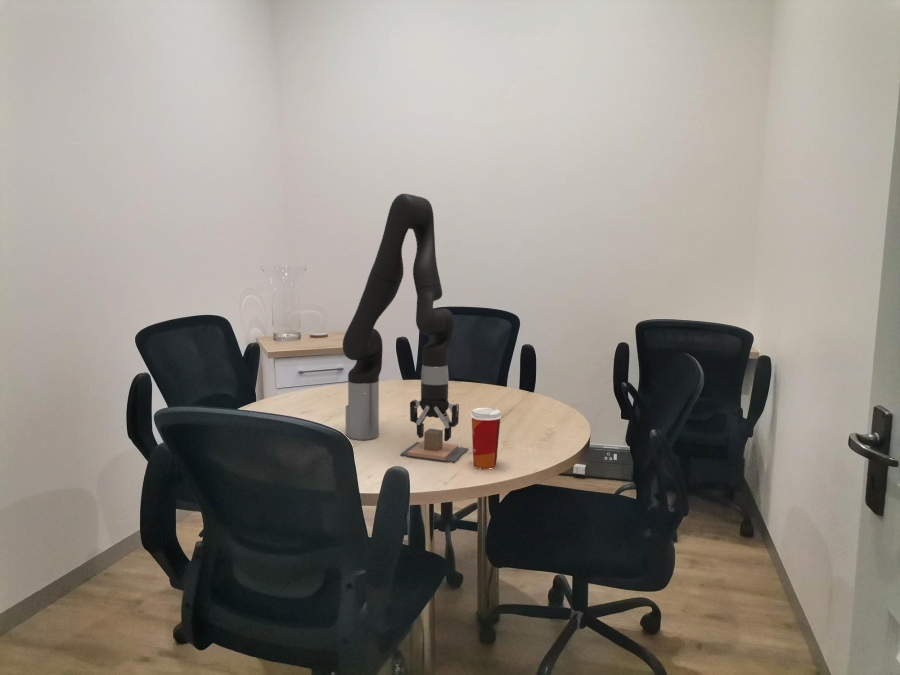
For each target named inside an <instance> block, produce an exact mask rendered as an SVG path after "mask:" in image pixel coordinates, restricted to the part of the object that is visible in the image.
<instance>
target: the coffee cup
mask: <svg viewBox="0 0 900 675" xmlns="http://www.w3.org/2000/svg"><path fill="white" fill-rule="evenodd" d="M469 417H471V436H472V437H471V438H472V459H473V460H472V461H473V462H472V463H473V467H474V466H475V467H477V468H476V469H478V468H481V469H480V470H483V469H489V468H493V469H495V468H496V467H495V466H497V460H498V459H497V458H498V449H499V448H498V447H499V438H500V427H501V426H500V425H501V418H502V415H501V411H500V410H499V409H496V408H493V407H492V408H490V407H478V408H477V407H476V408H474V409H473V410H471V414H470V416H469ZM475 467H474V468H475ZM494 467H495V468H494ZM489 470H490V469H489Z"/></svg>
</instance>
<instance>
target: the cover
mask: <svg viewBox="0 0 900 675" xmlns="http://www.w3.org/2000/svg"><path fill="white" fill-rule="evenodd" d="M443 430H444V429H435V428H428V429H426V431H424V436H423V438H424V439H423V440H422V441H419V442H420V443H419V444H418V445H416V446H415V447H414V448H412V449H411V450H409V451H408V456H416V457H423V458H431V459H438V460H446V459H447V458H448V457H449V456H451V455H452V454H453V453H454V452H455V451H456V450H457V449H458V447H459V445H458V444H451V443H444V442H443V440H444V439H443V438H444V437H443V436H444V434H443V433H444V431H443Z"/></svg>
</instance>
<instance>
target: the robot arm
mask: <svg viewBox="0 0 900 675" xmlns="http://www.w3.org/2000/svg"><path fill="white" fill-rule="evenodd" d="M434 219H435V216H434V209H433V206H432V204H431V202H430V201H429V200H428V199H427V198H425V197H422V196H419V195H418V196H417V195H415V194H410V193H400V194H398V195H396V197H395V198H394V200H393V201H392V203H391V205H390V206H389V211H388V215H387V218H386V223H385V226H384V230H383V234H382V239H381V241H380V244H379V247H378V251H377V254H376V257H375V260H374V262H373V264H372V267H371V270H370V272H369V275H368V277H367V281H366V284H365V287H364V290H363V293H362V295H361V298H360V300H359V303H358V306H357V308H356V311H355V313H354V315H353V317H352V319H351V321H350V323H349V325H348V328H347V329H346V331H345V334H344V336H343V340H342V351H343V354H344V356H345V357H346V358H348V360H352V361H356V362H355V364H354V366H353V367H352V368H351V369H350V370H349V372H348V373H347V374H348V376H347V380H348V382H347V390H348V391H347V393H348V394H347V395H348V396H347V398H348V399H347V401H348V402H347V405H346V406H345V436H346V435H347V436H348V438H350V439H352V440H357V441H367V440H368V441H369V440H374V439H377V438H378V437H379V435H380V432H379V431H380V428H379V426H380V424H379V423H380V422H379V421H380V412H379V411H380V410H379V409H380V407H379V406H380V402H379V400H380V398H379V397H380V391H379V390H380V389H379V387H380V386H379V384H380V374H381V372H382V367H383V338H382V336H381V334H380V332H379V331H378V330H377V329H376V328H374V327H375V325H376V323H377V322H378V320H379V318H380V317H381V316H382V315H383V313H384V312H385V311H386V310H387V308H389V306H390V305H391V304H392V302H393V301H394V300H395V297H396V295H397V294H398V292H399V289H400V286H401V284H402V280H403V277H404V260H403V252H402V250H403V246H404V241H405V238H406V236H407V233H408V231H409V230H413V233H414V234H413V235H414V237H415V242H416V252H415V258H414V261H413V262H414V263H413V265H412V277H413V282H414V286H415V287H414V288H415V292H416V309H415V310H416V312H415V313H416V314H415V323H416V324H415V325H416V327H417V329H418V331H419V332H420V333H421V335H423V336H433V338H432V340H431V341H429V342H427V343H425V344H424V345H423V347H422V352H421V353H422V358H421V359H422V360H421V364H422V365H421V372H420V379H421V380H420V400H417V399H413V400H411V401H409V418H410V420H409V421H410V422H411V423H414V424H415V425H416V435H417V436H418V438H419V439H422V438H424V432H425V431H424V430H425V427H424V426H425V423H424V422H425V420H426V419H427V418H436V419H439V420H440V421H441V422H442V424H443V425H444V429H443V430H444V431H443V433H444V434H443V436H444V437H443V438H444V439H443V440H444V442H448V441H449V440H450V439H451V438H452V428H454V427H456V426H457V425H459V416H460V415H459V414H460V405H459V403H453V404H452V403H450V402H449V380H450V377H449V367H448V366H449V365H448V364H449V362H448V361H449V360H448V358H449V354H448V353H449V348H450V344H451V341H452V338H453V334H454V329H455V318H454V317H455V316H454V315H453V313H452V311H451V310H450V309H447V308H434V302H436V301H438V300H440V299H442V296H443V288H442V284H441V279H440V276H439V275H440V274H439V270H438V262H437V256H436V241H435V240H436V239H435V238H436V236H435V221H434ZM419 407H420V408H421V410H422V412H421V413H420V415H419V417H418V408H419ZM448 410H449V411H450V413H451V419H450V416H449V414H448V412H447V411H448Z"/></svg>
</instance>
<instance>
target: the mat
mask: <svg viewBox="0 0 900 675" xmlns="http://www.w3.org/2000/svg"><path fill="white" fill-rule="evenodd" d="M420 442H421V441H416V442H415V443H413V444H412V445H410V446H408V448H406V449H405V450H404V451H402V452H401V453H400V454H399V456H400V457H404V456H406V457H407V458H412V457H413V458H414V459H419V458H420V460H429V461H435V462H436V461H437V462H442V461H443V462H442V463H444V462H445V463H450V462H452V463H451V464H456V463H457V462H458V461H459V460H460V459H461V458H462V457H463V456H464V455H465V454H466V453H467V452H468V451H469V447H461V446H460V447H459V446H458V449H457V450H456V451H455V452H454V453H453V454H452V455H451V456H449V457H448V458H447V459H446V460H438V459H431V458H423V457H416V456H408V451H409V450H411V449H412V448H414V447H415V446H416V445H418V444H419V443H420ZM467 450H468V451H467ZM466 451H467V452H466ZM465 452H466V453H465ZM464 453H465V454H464ZM463 454H464V455H463ZM462 455H463V456H462ZM461 456H462V457H461ZM460 457H461V458H460ZM459 458H460V459H459ZM458 459H459V460H458ZM457 460H458V461H457ZM456 461H457V462H456ZM455 462H456V463H455Z"/></svg>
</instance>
